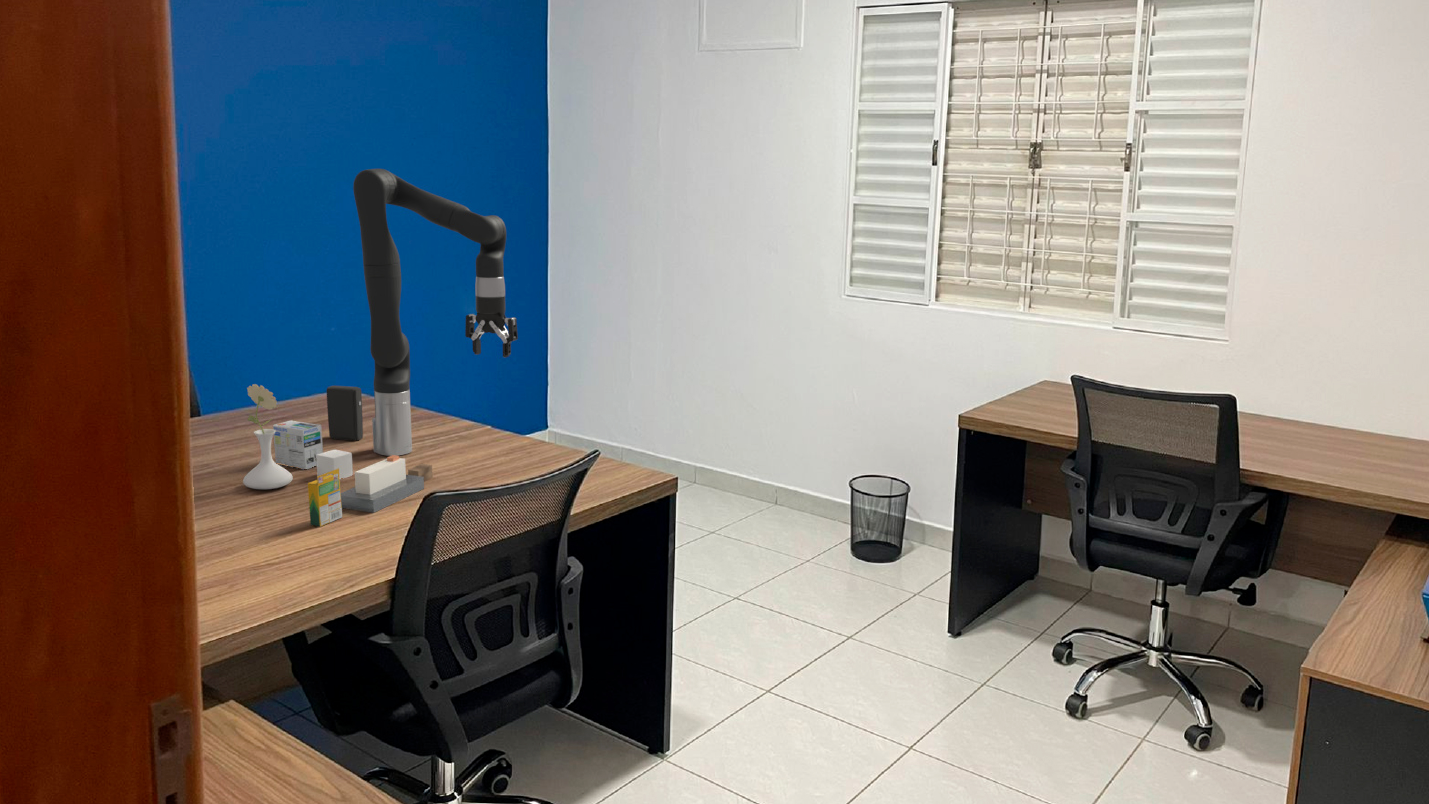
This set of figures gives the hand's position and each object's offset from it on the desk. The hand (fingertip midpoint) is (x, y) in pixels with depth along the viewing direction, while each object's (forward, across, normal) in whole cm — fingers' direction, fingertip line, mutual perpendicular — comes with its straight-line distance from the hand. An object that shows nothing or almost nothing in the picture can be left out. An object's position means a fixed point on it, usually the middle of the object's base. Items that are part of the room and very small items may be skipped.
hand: (491, 355), depth 300 cm
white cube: (+28, -28, -30) cm, 50 cm away
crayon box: (+28, -8, -59) cm, 66 cm away
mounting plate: (+28, -7, -40) cm, 49 cm away
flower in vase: (+28, -38, -43) cm, 64 cm away
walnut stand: (+28, -7, -24) cm, 38 cm away
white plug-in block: (+28, -7, -40) cm, 49 cm away
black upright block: (+28, -48, +1) cm, 56 cm away
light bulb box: (+28, -43, -25) cm, 57 cm away
